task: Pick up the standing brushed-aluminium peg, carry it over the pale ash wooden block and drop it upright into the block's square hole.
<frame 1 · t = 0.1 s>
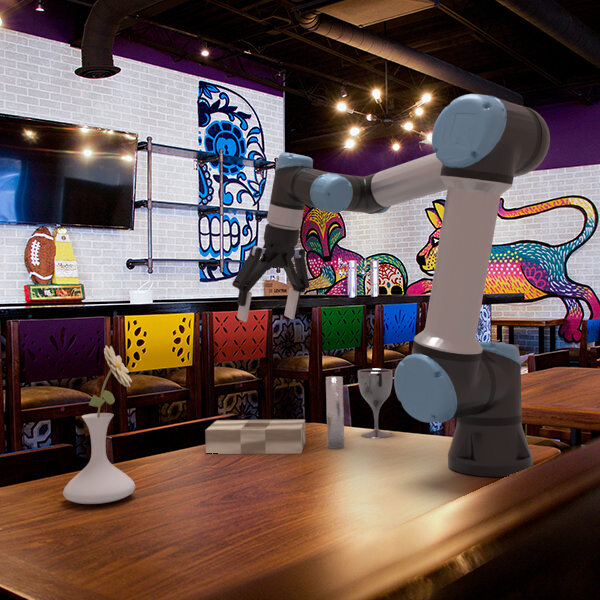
hand: (266, 318, 159), 28 cm above the table, tool tilted 20°, fingers open, 13 cm apart
peg: (335, 447, 152), on the table
hole block: (257, 447, 154), on the table
flower in vase: (102, 499, 117), on the table
wine glass: (376, 436, 165), on the table
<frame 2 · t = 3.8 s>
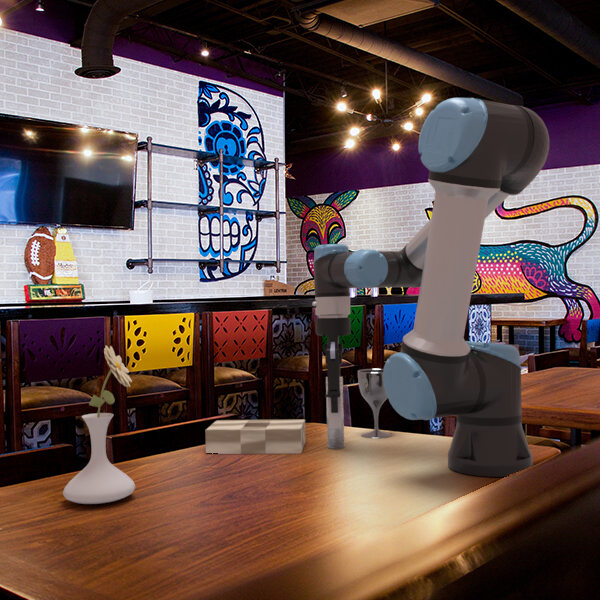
hand: (335, 425, 152), 5 cm above the table, tool pointing down, fingers closed on peg, 3 cm apart
peg: (335, 447, 152), on the table, touching gripper
everything else where it was.
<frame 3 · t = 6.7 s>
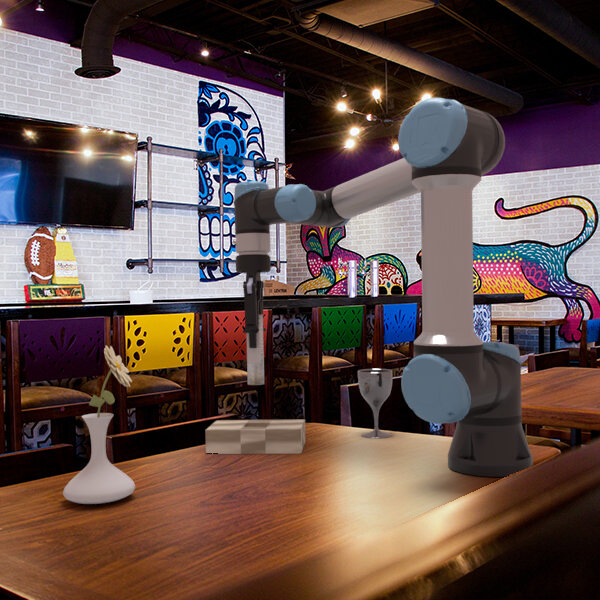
hand: (255, 362, 154), 18 cm above the table, tool pointing down, fingers closed on peg, 3 cm apart
peg: (256, 384, 154), point 14 cm above the table, touching gripper
everything else where it was.
when the fingers open (7 cm above the table, at t = 9.6 s): peg drops 2 cm, resting in hole block.
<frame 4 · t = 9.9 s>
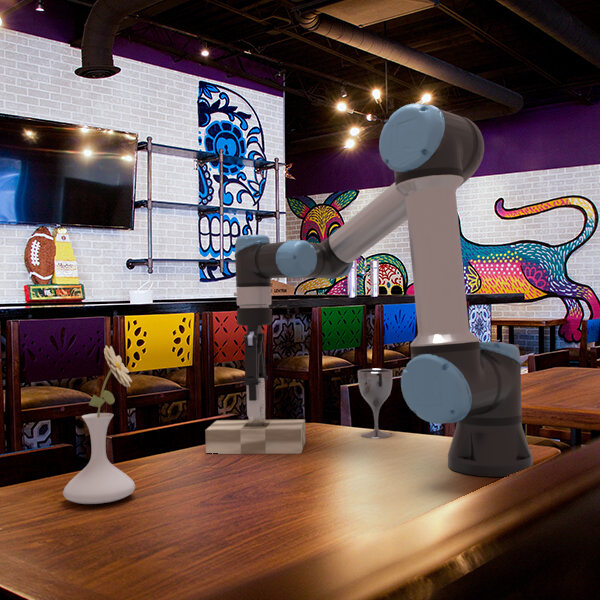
hand: (256, 412, 154), 8 cm above the table, tool pointing down, fingers open, 7 cm apart
peg: (257, 447, 154), resting in hole block
everything else where it was.
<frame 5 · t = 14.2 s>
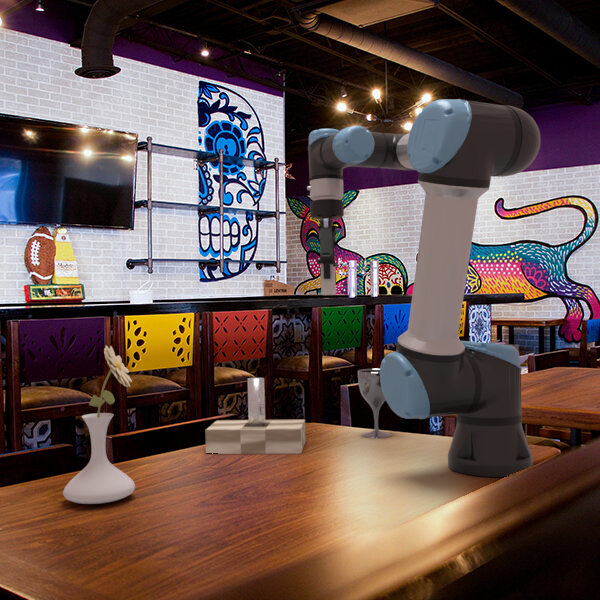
hand: (328, 294, 159), 33 cm above the table, tool pointing down, fingers open, 13 cm apart
nothing on the table moved.
at the end: peg 0.0 cm off-centre on the hole block, point 0.0 cm above the hole block's base; peg tilted 0°; the gripper is holding nothing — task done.
